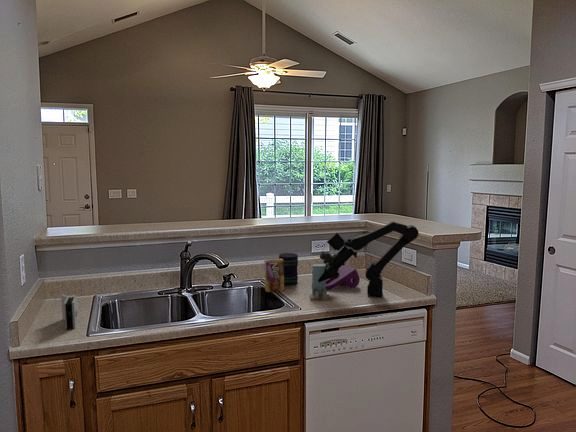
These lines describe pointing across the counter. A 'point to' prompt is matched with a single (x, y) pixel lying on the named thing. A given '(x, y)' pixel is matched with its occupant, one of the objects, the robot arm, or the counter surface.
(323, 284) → the door
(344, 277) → the mounting bracket
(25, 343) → the counter surface
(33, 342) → the counter surface
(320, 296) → the brown base with posts
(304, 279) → the counter surface
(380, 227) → the robot arm
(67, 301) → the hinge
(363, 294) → the counter surface
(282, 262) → the candy box
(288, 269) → the storage jar
